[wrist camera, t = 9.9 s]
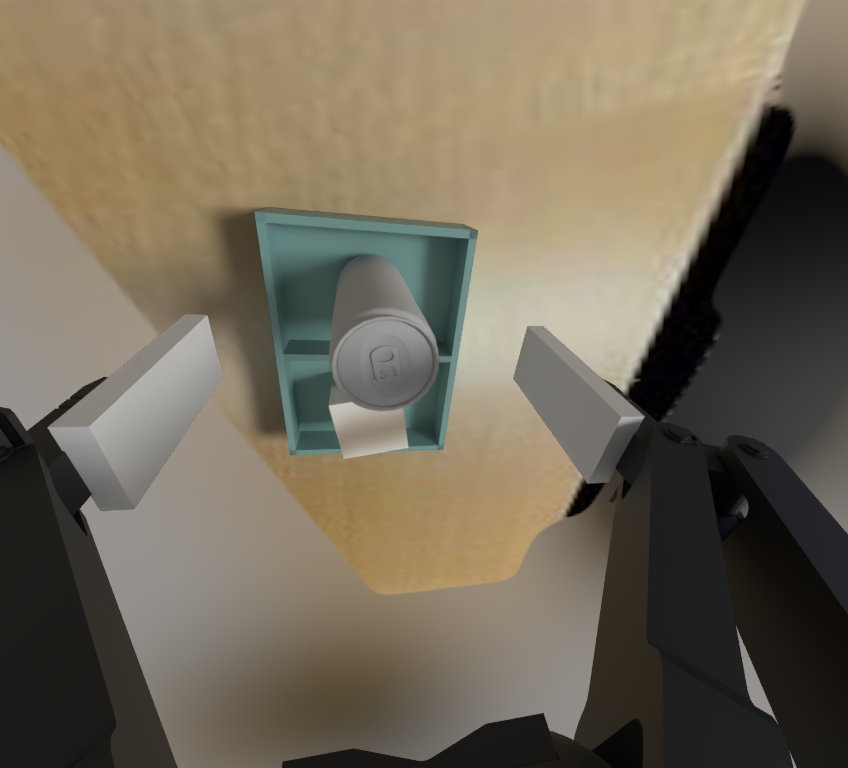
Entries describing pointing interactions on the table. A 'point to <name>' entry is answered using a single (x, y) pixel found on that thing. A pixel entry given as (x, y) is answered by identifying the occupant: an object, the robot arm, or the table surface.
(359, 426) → the cream block
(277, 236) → the box
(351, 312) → the beverage can
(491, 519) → the table surface
